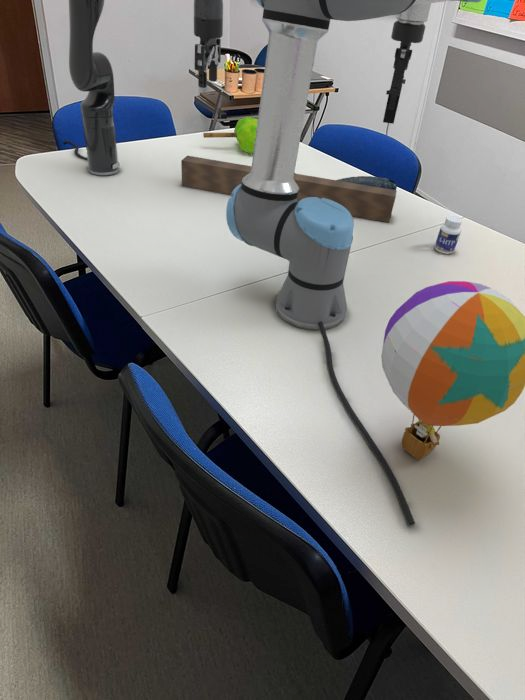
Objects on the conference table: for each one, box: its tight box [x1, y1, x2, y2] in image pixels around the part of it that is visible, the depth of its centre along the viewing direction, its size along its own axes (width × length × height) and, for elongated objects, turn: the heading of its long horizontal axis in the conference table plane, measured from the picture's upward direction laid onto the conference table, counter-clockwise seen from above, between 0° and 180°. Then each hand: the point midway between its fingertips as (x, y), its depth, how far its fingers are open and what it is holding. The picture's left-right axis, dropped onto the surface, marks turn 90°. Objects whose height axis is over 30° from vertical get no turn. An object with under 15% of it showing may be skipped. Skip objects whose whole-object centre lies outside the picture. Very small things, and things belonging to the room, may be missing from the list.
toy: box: [380, 280, 525, 461], centre depth 74 cm, size 20×20×30 cm
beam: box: [180, 155, 397, 224], centre depth 156 cm, size 64×5×8 cm, turn 75°
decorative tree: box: [202, 116, 258, 155], centre depth 190 cm, size 18×10×30 cm
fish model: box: [336, 175, 398, 190], centre depth 167 cm, size 7×21×5 cm, turn 84°
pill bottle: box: [434, 215, 463, 255], centre depth 137 cm, size 5×5×9 cm
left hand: (207, 84), depth 144 cm, fingers open, 8 cm apart
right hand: (390, 116), depth 137 cm, fingers open, 13 cm apart
